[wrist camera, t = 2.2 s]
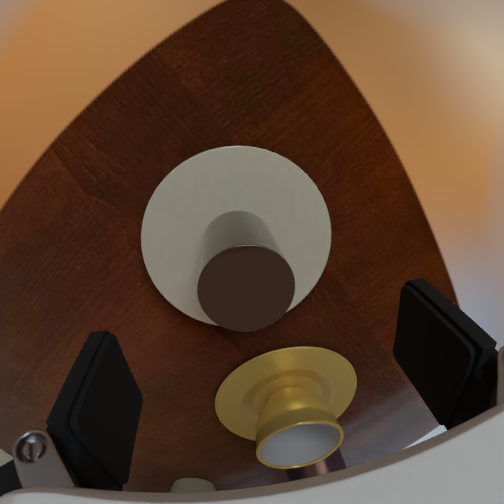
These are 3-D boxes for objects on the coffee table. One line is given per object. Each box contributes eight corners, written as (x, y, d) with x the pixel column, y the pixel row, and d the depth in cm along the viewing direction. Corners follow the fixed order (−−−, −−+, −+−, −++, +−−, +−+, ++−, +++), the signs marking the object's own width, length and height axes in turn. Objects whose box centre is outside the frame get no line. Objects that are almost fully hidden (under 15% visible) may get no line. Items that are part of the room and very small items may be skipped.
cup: (196, 361, 22) (194, 417, 17) (356, 325, 22) (386, 372, 17) (232, 447, 26) (237, 493, 21) (352, 419, 27) (371, 461, 22)
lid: (126, 286, 19) (95, 350, 13) (181, 117, 16) (161, 107, 10) (280, 334, 22) (302, 403, 16) (353, 189, 19) (413, 218, 12)
